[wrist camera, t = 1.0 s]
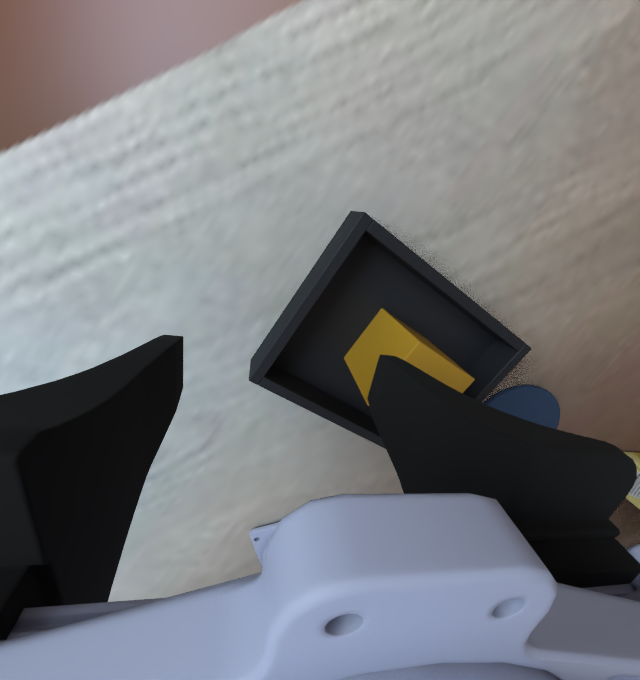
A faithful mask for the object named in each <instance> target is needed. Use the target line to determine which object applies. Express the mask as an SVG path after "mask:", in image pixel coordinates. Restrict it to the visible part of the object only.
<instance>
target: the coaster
mask: <svg viewBox="0 0 640 680" xmlns="http://www.w3.org/2000/svg"><path fill="white" fill-rule="evenodd" d="M484 404H486V405H488V406H490V407H493V408H495V409H498V410H500V411H503V412H505V413H508V414H511V415H513V416H516V417H519V418H522V419H524V420H527V421H530V422H533V423H536V424H540V425H543V426H546V427H550V428H553V429H556V428H557V426H558V423H559V418H560V408H559V404H558V402H557V400H556V398H555V397H554V396H553V395H552V394H551V393H550V392H548V391H547V390H545V389H544V388H541V387H539V386H534V385H520V386H514V387H511V388H508V389H505V390H503V391H501V392H499V393H497V394H495V395H494V396H492V397H491V398H489V399H488V400H487V401H486V402H484Z"/></svg>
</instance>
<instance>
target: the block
mask: <svg viewBox="0 0 640 680" xmlns="http://www.w3.org/2000/svg"><path fill="white" fill-rule="evenodd" d="M379 355H391V356H396V357H398V358H401V359H403V360H405V361H406V362H408V363H410V364H412V365H413V366H415V367H417V368H419V369H420V370H422V371H424V372H425V373H427V374H429V375H430V376H432V377H434V378H435V379H437V380H439V381H441V382H442V383H444V384H446V385H448V386H449V387H451V388H453V389H455V390H457V391H459V392H461V393H463V392H464V391H465V390H466V389H467V388H468V387H469V386H470V385H471V383H472V382H473V381H474V380H475V379H474V378H473V377H472V376H471V375H469V374H468V373H467V372H466V371H465V370H463V369H462V368H461V367H460V366H459V365H457V364H456V363H455V362H454V361H453V360H451V359H450V358H449V357H448V356H447V355H445V354H444V353H443V352H442V351H441V350H439V349H438V348H437V347H436V346H435V345H434V344H432V343H431V342H430V341H429V340H428V339H426V338H425V337H423V336H422V335H421V334H419V333H418V332H416V331H415V330H413V329H412V328H411V327H409V326H408V325H406V324H405V323H403V322H402V321H400V320H399V319H398V318H396V317H395V316H393V315H392V314H390V313H389V312H388V311H386V310H385V309H383V308H381V309H380V311H379V312H378V313H377V315H376V316H375V317H374V319H373V320H372V321H371V323H370V324H369V325H368V326H367V328H366V329H365V330H364V332H363V333H362V334H361V336H360V337H359V338H358V340H357V341H356V342H355V344H354V345H353V346H352V347H351V349H350V350H349V351H348V353H347V354H346V355H345V357H344V360H345V362H346V364H347V366H348V368H349V369H350V371H351V373H352V375H353V377H354V379H355V381H356V383H357V385H358V387H359V389H360V391H361V393H362V395H363V397H364V399H365V401H366V403H367V405H368V406H369V403H368V399H367V397H368V394H369V390H370V387H371V383H372V380H373V376H374V373H375V369H376V366H377V362H378V359H379Z"/></svg>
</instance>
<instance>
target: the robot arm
mask: <svg viewBox="0 0 640 680" xmlns="http://www.w3.org/2000/svg"><path fill="white" fill-rule="evenodd" d="M182 389H183V336H172V335H162V336H160V337H157V338H155V339H153V340H151V341H149V342H147V343H145V344H143V345H141V346H139V347H137V348H135V349H133V350H131V351H129V352H127V353H125V354H123V355H121V356H119V357H116V358H114V359H112V360H110V361H107V362H105V363H103V364H101V365H98V366H96V367H94V368H91V369H88V370H86V371H83V372H80V373H78V374H75V375H72V376H69V377H66V378H63V379H60V380H57V381H53V382H50V383H46V384H42V385H38V386H35V387H31V388H27V389H24V390H20V391H16V392H12V393H8V394H3V395H0V680H640V544H637V545H633V546H631V547H629V548H627V549H625V548H624V547H623V546H622V545H621V544H620V543H619V542H618V541H617V540H616V539H615V538H614V537H617V536H618V535H619V534H620V532H619V529H618V528H617V527H616V526H615V525H614V524H613V523H612V522H611V521H610V520H609V517H610V516H611V515H612V514H613V512H614V511H615V510H616V509H617V507H618V506H619V505H620V504H621V502H622V501H623V500H624V499H625V497H626V496H627V495H628V493H629V492H630V490H631V489H632V487H633V486H634V483H635V480H636V478H637V467H636V464H635V462H634V460H633V459H632V458H631V457H629V456H628V455H627V454H625V453H624V452H623V451H621V450H620V449H619V448H617V447H616V446H614V445H612V444H610V443H607V442H604V441H600V440H596V439H592V438H588V437H584V436H580V435H576V434H572V433H567V432H564V431H560V430H556V429H553V428H550V427H546V426H543V425H540V424H536V423H533V422H530V421H527V420H524V419H522V418H519V417H516V416H513V415H511V414H508V413H505V412H503V411H500V410H498V409H495V408H493V407H490V406H488V405H486V404H484V403H481V402H479V401H477V400H475V399H473V398H471V397H469V396H466V395H464V394H463V393H461V392H459V391H457V390H455V389H453V388H451V387H449V386H448V385H446V384H444V383H442V382H441V381H439V380H437V379H435V378H434V377H432V376H430V375H429V374H427V373H425V372H424V371H422V370H420V369H419V368H417V367H415V366H413V365H412V364H410V363H408V362H406V361H405V360H403V359H401V358H398V357H396V356H391V355H379V359H378V362H377V366H376V369H375V373H374V376H373V380H372V383H371V387H370V390H369V394H368V397H367V399H368V403H369V407H370V411H371V414H372V417H373V420H374V423H375V425H376V427H377V430H378V432H379V434H380V436H381V439H382V441H383V443H384V445H385V447H386V450H387V452H388V454H389V456H390V458H391V461H392V463H393V465H394V467H395V470H396V472H397V475H398V477H399V480H400V483H401V486H402V489H403V492H404V494H340V495H335V496H330V497H325V498H320V499H314V500H310V501H309V502H307V503H306V504H304V505H302V506H301V507H299V508H298V509H296V510H294V511H293V512H291V513H289V514H288V515H286V516H285V517H284V518H283V519H281V521H280V522H277V523H273V524H270V525H266V526H262V527H258V528H254V529H252V530H251V531H250V538H251V540H252V543H253V545H254V548H255V550H256V553H257V556H258V558H259V561H260V563H261V566H262V568H263V570H262V572H261V573H257V574H253V575H250V576H246V577H242V578H238V579H235V580H231V581H227V582H224V583H220V584H216V585H212V586H209V587H205V588H201V589H198V590H194V591H190V592H186V593H183V594H179V595H175V596H172V597H168V598H158V599H144V600H130V601H117V602H108V598H109V595H110V591H111V587H112V584H113V581H114V577H115V574H116V571H117V567H118V564H119V560H120V557H121V554H122V550H123V547H124V544H125V540H126V537H127V534H128V531H129V528H130V525H131V521H132V518H133V515H134V512H135V509H136V506H137V503H138V500H139V497H140V494H141V491H142V488H143V485H144V482H145V479H146V476H147V474H148V472H149V469H150V467H151V464H152V462H153V460H154V458H155V456H156V454H157V451H158V449H159V447H160V445H161V443H162V441H163V438H164V436H165V434H166V432H167V430H168V428H169V425H170V423H171V421H172V419H173V417H174V414H175V412H176V409H177V406H178V403H179V400H180V396H181V392H182Z"/></svg>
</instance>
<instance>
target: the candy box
mask: <svg viewBox="0 0 640 680" xmlns="http://www.w3.org/2000/svg"><path fill="white" fill-rule="evenodd" d="M624 453H625V454H627V455H628V456H629V457H631V458H632V459H633V460H634V462H635V464H636V467H637V478H636V480H635V483H634V486H633V487H632V489H631V490H630V492H629V493H628V495H627V496H626V497H625V498H626V499H627V500H629V501H630V502H631V503H632V504H634V505H635V506H636V507H637V508H638V509H640V453H637V452H624Z"/></svg>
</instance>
